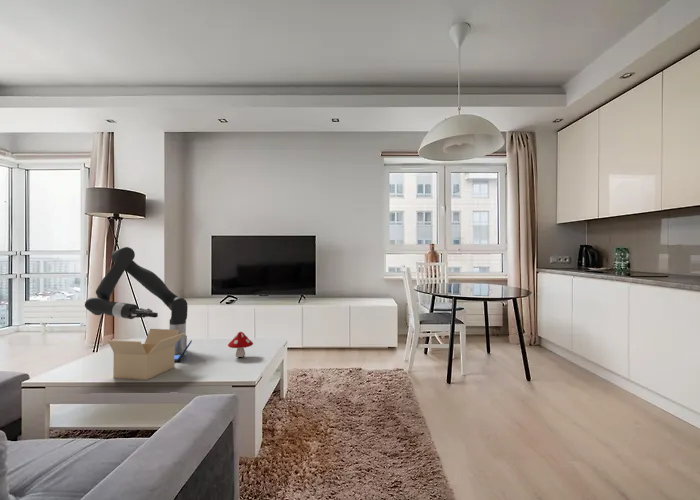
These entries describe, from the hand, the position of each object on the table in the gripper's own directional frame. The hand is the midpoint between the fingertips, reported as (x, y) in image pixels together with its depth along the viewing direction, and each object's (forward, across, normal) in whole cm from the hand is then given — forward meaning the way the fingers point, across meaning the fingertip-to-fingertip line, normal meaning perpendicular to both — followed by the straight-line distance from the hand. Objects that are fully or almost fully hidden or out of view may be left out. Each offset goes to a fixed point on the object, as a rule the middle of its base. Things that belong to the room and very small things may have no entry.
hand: (156, 315), depth 184 cm
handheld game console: (+1, +22, +30) cm, 37 cm away
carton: (-1, -2, +29) cm, 29 cm away
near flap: (+9, -3, +12) cm, 15 cm away
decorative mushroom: (+35, +29, +25) cm, 52 cm away
